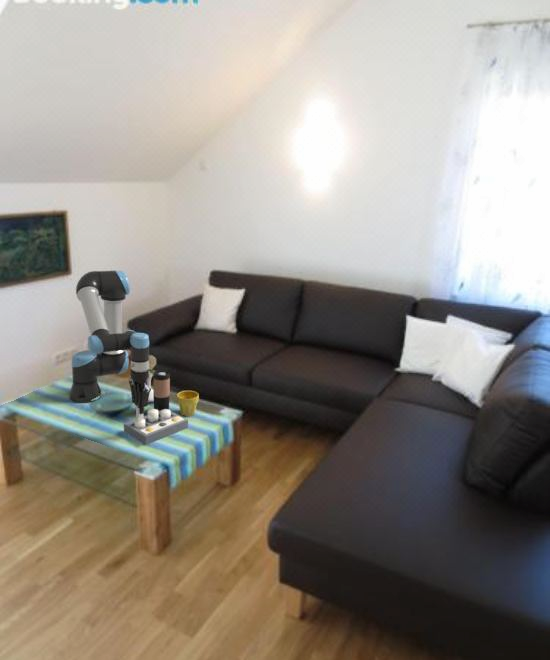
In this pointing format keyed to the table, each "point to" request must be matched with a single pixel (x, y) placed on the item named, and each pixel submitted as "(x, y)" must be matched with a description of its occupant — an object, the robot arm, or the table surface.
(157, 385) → the travel mug
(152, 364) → the flower in vase
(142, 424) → the button
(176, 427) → the tray
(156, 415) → the button
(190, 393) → the plant pot
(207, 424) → the table surface
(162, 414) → the button
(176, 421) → the strip
